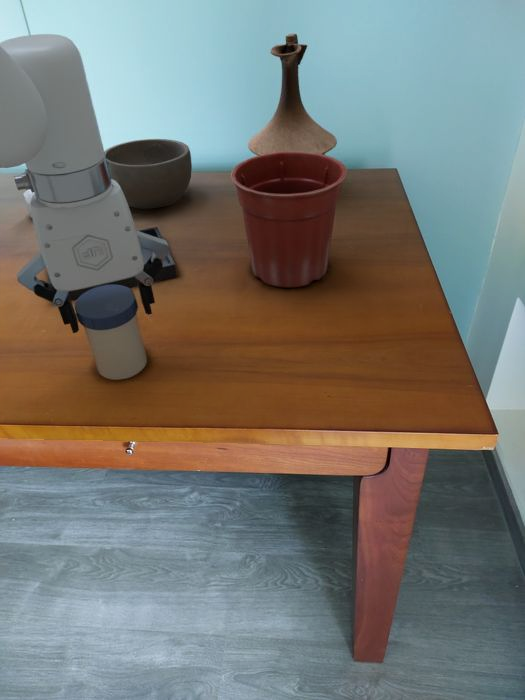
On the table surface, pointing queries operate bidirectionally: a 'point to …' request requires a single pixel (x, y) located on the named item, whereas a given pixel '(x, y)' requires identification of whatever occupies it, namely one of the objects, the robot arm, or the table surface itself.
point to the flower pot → (289, 213)
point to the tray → (164, 273)
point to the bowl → (150, 171)
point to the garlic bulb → (28, 199)
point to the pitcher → (291, 112)
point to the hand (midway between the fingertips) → (111, 316)
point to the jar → (118, 350)
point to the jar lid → (106, 307)
